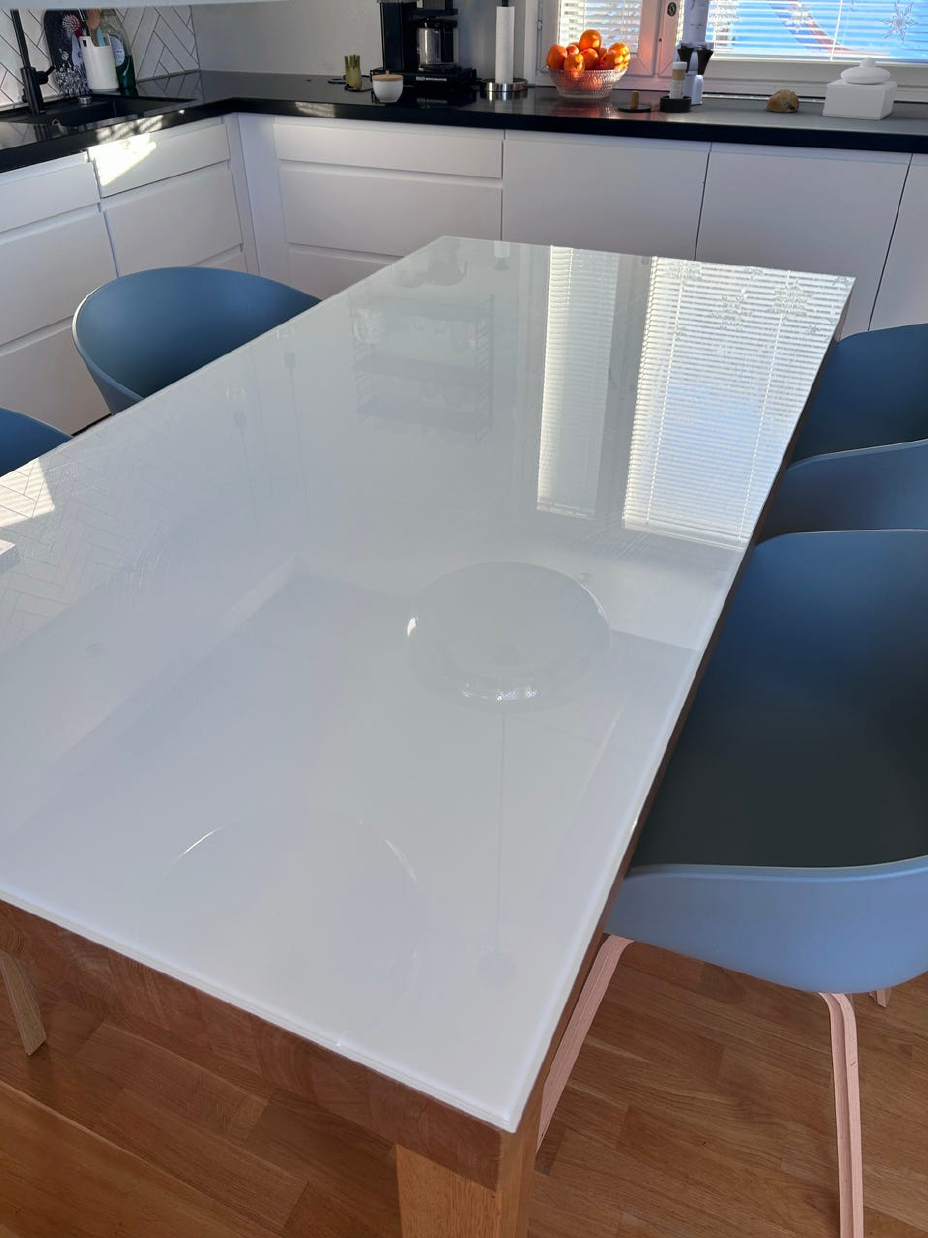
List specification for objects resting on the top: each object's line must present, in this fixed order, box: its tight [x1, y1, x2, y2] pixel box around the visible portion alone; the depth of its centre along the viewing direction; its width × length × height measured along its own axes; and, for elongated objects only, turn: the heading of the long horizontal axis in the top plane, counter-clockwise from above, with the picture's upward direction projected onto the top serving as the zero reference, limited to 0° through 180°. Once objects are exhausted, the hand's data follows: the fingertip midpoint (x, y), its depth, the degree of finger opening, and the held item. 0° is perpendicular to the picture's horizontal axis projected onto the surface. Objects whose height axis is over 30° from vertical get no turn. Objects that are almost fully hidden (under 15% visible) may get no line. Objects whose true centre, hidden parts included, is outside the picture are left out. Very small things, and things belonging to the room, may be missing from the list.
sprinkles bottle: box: [669, 62, 687, 99], centre depth 309 cm, size 5×5×13 cm
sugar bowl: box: [371, 70, 404, 103], centre depth 333 cm, size 11×11×9 cm
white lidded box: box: [821, 56, 899, 121], centre depth 300 cm, size 18×18×16 cm
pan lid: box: [617, 90, 652, 113], centre depth 312 cm, size 11×11×6 cm
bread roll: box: [765, 89, 800, 114], centre depth 310 cm, size 10×10×8 cm
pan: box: [658, 94, 692, 114], centre depth 312 cm, size 10×10×4 cm
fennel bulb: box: [344, 53, 363, 91], centre depth 358 cm, size 6×5×12 cm
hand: (692, 73), depth 308 cm, fingers open, 7 cm apart
